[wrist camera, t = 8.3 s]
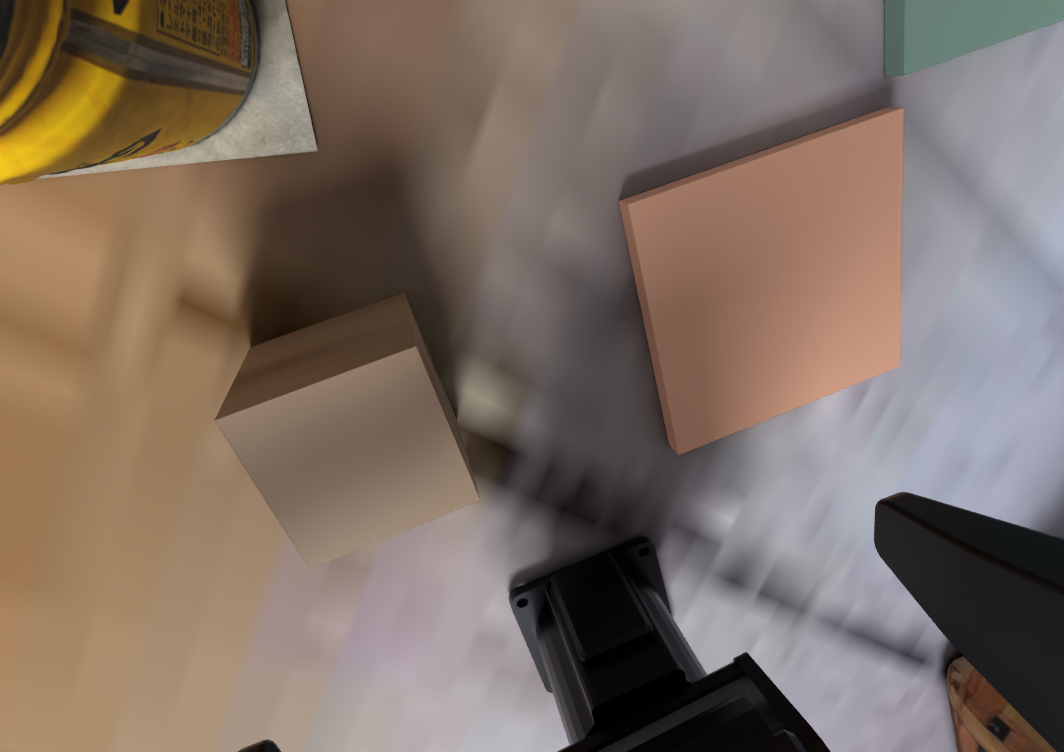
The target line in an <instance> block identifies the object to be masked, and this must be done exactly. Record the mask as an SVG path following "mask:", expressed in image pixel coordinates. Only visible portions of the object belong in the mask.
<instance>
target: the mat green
mask: <svg viewBox="0 0 1064 752" xmlns="http://www.w3.org/2000/svg"><path fill="white" fill-rule="evenodd" d="M1062 20H1064V0H885V76H898V75H906V74H909V73H911V72H914V71H917V70H920V69H923V68H926V67H929V66H932V65H935V64H938V63H940V62H943V61H946V60H949V59H952V58H955V57H958V56H961V55H964V54H966V53H969V52H972V51H975V50H978V49H981V48H984V47H987V46H990V45H993V44H995V43H998V42H1001V41H1004V40H1007V39H1010V38H1013V37H1016V36H1019V35H1022V34H1024V33H1027V32H1030V31H1033V30H1036V29H1039V28H1042V27H1045V26H1048V25H1050V24H1053V23H1056V22H1059V21H1062Z"/></svg>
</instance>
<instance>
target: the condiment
mask: <svg viewBox="0 0 1064 752" xmlns="http://www.w3.org/2000/svg"><path fill="white" fill-rule="evenodd" d="M312 151H318V150H317V146H316V141H315V137H314V132H313V127H312V123H311V118H310V113H309V109H308V104H307V100H306V95H305V90H304V86H303V81H302V76H301V72H300V68H299V64H298V59H297V54H296V49H295V44H294V40H293V35H292V30H291V25H290V21H289V17H288V13H287V9H286V4H285V0H0V185H3V184H20V183H25V182H30V181H32V180H35V179H39V178H49V177H59V176H69V175H79V174H89V173H99V172H108V171H118V170H128V169H139V168H149V167H159V166H169V165H179V164H189V163H199V162H210V161H220V160H230V159H241V158H253V157H258V156H271V155H282V154H292V153H302V152H312Z"/></svg>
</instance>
